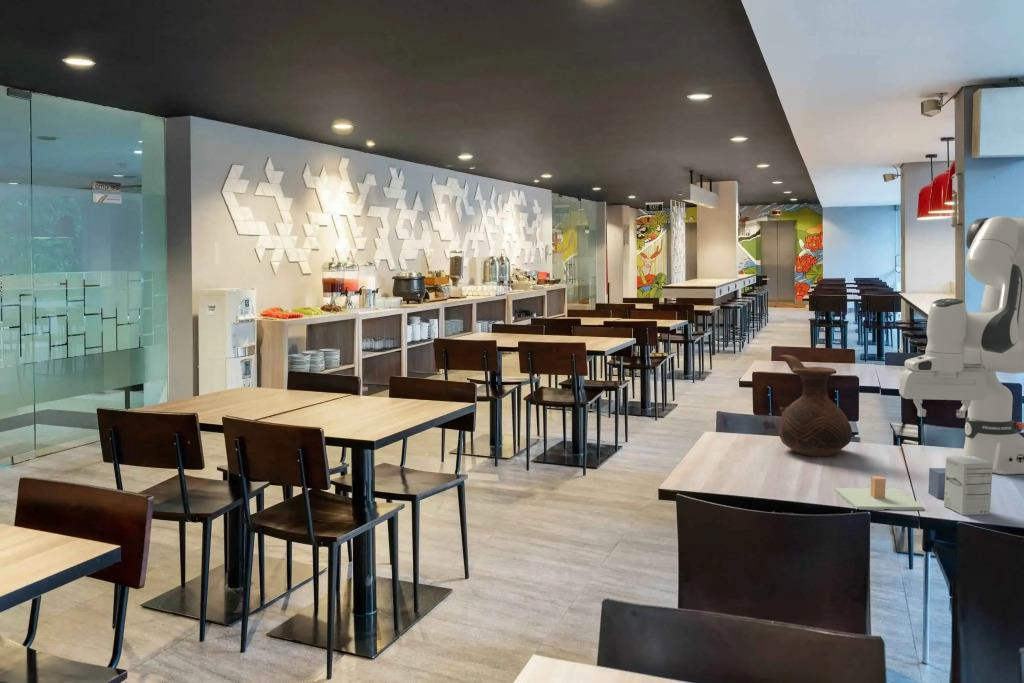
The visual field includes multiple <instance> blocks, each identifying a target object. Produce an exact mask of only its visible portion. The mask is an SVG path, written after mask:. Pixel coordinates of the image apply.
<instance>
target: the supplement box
mask: <svg viewBox="0 0 1024 683" xmlns="http://www.w3.org/2000/svg"><path fill="white" fill-rule="evenodd" d="M945 468H946V473H945V493H944V499H943V507H945V508H948V509H950V510H952V511H954V512H956V513H958V514H959V515H961V516H975V515H976V516H977V515H980V516H981V515H990V514H991V502H992V500H991V499H992V486H993V485H992V484H993V482H992V481H993V472H992V468H993V463H990V462H987V461H985V460H982V459H979V458H977V457H974V456H962V455H960V456H959V455H956V456H955V455H954V456H953V455H952V456H946V457H945Z"/></svg>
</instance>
